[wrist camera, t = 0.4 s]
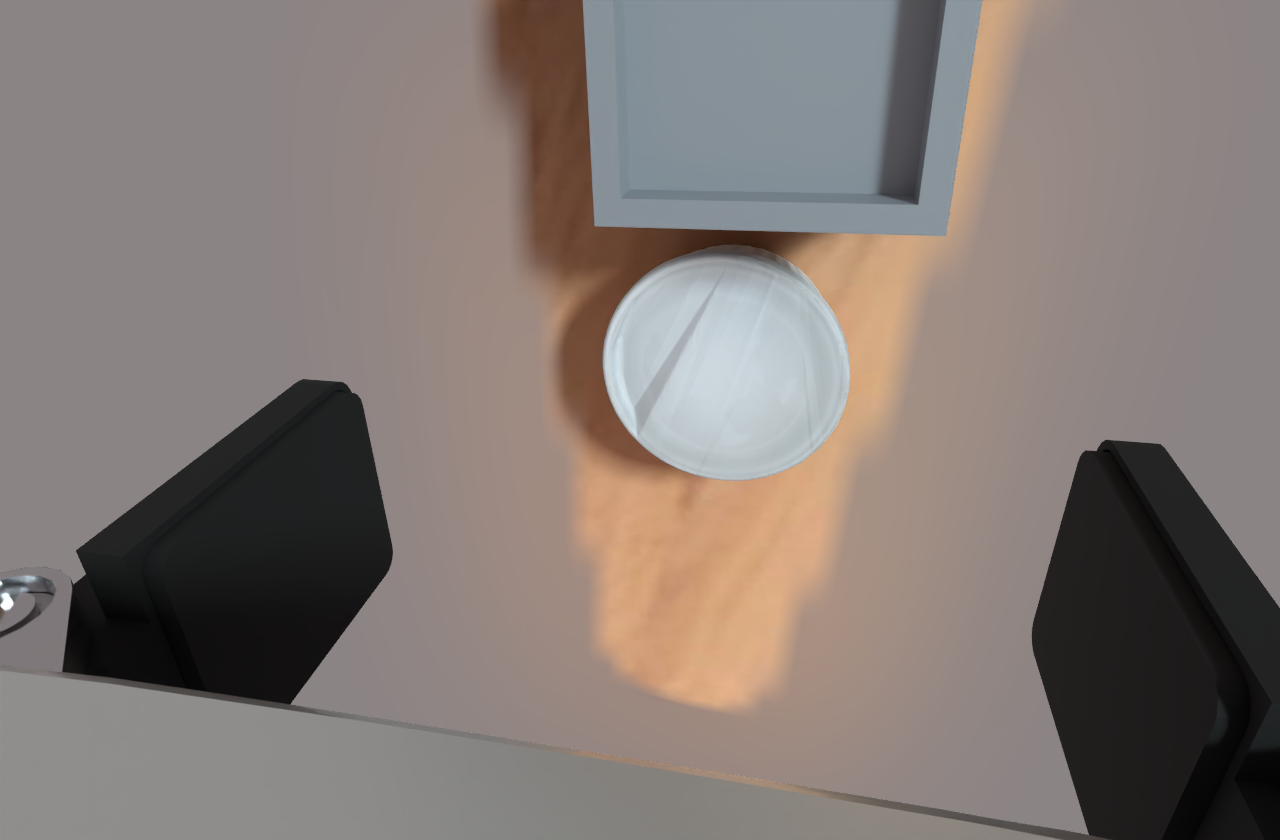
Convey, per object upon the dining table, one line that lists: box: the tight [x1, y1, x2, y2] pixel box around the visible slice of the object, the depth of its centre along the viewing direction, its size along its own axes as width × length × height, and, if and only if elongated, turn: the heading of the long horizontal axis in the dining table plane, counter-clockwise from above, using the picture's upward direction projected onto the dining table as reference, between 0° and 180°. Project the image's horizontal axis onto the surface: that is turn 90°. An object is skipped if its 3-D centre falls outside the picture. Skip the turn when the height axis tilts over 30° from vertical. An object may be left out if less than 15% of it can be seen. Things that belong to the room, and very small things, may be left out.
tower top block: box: [583, 0, 982, 236], centre depth 27 cm, size 12×12×6 cm
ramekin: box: [602, 244, 850, 481], centre depth 38 cm, size 11×11×5 cm
